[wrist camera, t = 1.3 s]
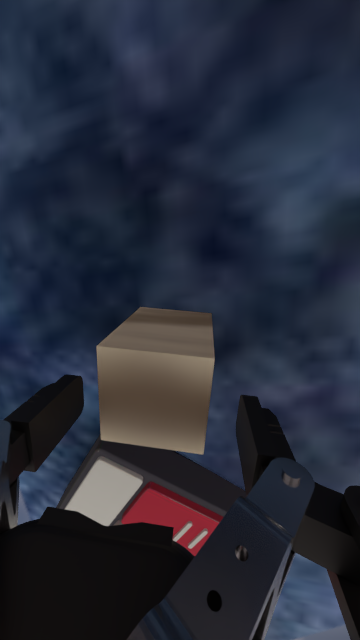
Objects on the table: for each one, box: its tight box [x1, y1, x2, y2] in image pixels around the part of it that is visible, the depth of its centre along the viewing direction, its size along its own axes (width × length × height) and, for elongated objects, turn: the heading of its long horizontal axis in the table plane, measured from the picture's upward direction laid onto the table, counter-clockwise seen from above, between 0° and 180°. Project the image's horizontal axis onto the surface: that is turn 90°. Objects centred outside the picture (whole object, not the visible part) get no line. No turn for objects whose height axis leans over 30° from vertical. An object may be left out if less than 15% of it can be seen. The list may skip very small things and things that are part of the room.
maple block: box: [97, 307, 215, 454], centre depth 14 cm, size 5×5×7 cm
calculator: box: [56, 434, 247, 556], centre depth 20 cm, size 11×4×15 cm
